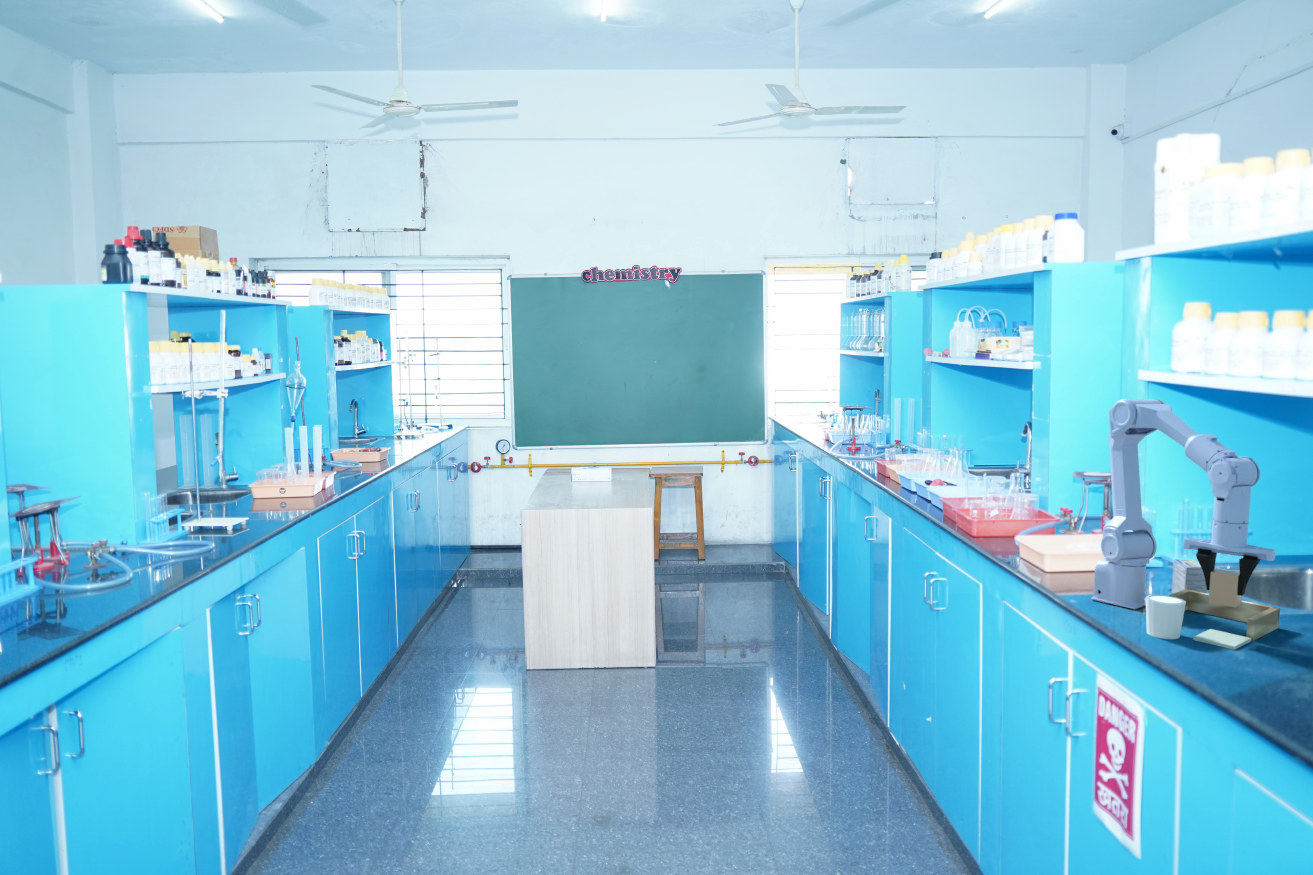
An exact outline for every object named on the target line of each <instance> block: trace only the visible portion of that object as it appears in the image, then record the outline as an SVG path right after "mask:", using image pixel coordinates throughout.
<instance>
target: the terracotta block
mask: <svg viewBox="0 0 1313 875" xmlns="http://www.w3.org/2000/svg"><path fill="white" fill-rule="evenodd" d="M1239 575H1240V570H1239V571H1238V570H1231V569H1225V568H1218V567H1216V568H1215V569H1214V570H1213V571H1211V576H1210V589H1209V590H1208V592H1209V593H1208V594H1209V603H1213V604H1219V605H1224V606H1230V607H1235V608H1236V607H1237V606H1239V605H1240V604H1241V603H1242V601H1243V595H1242V596H1240V595H1238V585H1239Z"/></svg>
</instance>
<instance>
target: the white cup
mask: <svg viewBox="0 0 1313 875" xmlns="http://www.w3.org/2000/svg"><path fill="white" fill-rule="evenodd" d="M1144 600H1146V606H1145V619H1146V621H1145V624H1146V634H1147V635H1149V636H1150V637H1151V636H1152V637H1154V638H1158V639H1163V640H1177V639H1180V637H1181V633H1182V632H1181V631H1182V626H1183V620H1184V615H1185V611H1184V610H1185V604H1186V601H1184V600H1182V599H1179V598H1176V597H1171V596H1169V595H1165V594H1164V595H1163V594H1148V595H1146V596H1145V597H1144Z"/></svg>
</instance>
